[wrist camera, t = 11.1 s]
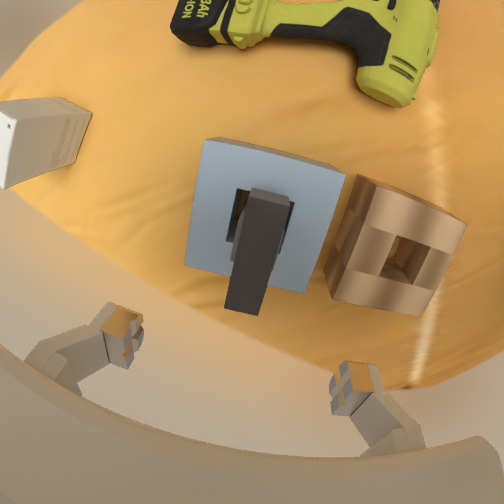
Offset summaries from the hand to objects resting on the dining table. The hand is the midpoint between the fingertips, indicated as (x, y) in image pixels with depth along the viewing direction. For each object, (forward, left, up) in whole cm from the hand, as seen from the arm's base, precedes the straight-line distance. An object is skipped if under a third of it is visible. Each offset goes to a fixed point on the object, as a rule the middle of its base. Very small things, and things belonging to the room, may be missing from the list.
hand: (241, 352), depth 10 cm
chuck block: (0, 0, -21) cm, 21 cm away
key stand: (-15, 0, -21) cm, 26 cm away
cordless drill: (-1, -27, -22) cm, 34 cm away
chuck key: (0, 0, -21) cm, 21 cm away
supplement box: (+27, -5, -21) cm, 35 cm away
